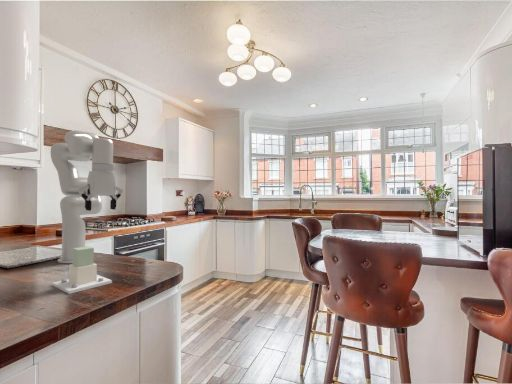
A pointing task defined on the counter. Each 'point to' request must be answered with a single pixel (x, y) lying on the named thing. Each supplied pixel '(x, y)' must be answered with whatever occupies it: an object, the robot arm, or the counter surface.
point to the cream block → (82, 274)
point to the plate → (73, 288)
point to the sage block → (83, 256)
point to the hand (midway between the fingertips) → (101, 209)
